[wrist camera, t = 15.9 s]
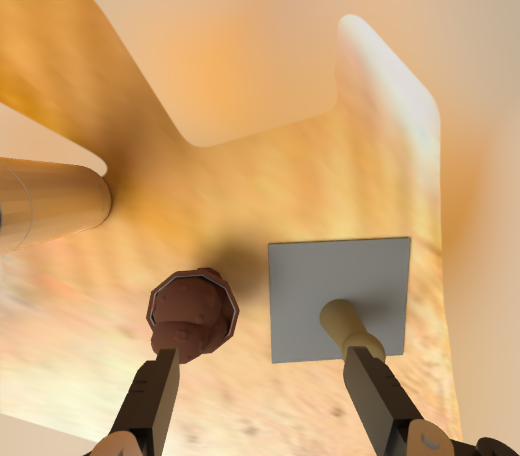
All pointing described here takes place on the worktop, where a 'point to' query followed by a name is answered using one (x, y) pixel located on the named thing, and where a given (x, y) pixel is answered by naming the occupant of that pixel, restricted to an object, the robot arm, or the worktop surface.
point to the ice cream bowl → (192, 313)
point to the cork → (348, 328)
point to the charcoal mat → (336, 293)
